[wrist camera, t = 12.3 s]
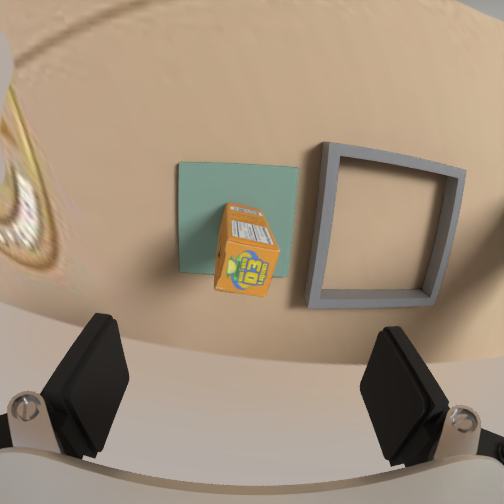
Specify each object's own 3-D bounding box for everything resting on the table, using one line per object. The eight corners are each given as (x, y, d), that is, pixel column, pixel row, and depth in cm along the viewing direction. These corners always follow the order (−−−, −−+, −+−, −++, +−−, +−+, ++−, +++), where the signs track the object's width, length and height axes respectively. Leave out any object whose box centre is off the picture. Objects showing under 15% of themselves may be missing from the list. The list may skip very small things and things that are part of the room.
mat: (297, 167, 25) (298, 168, 24) (286, 274, 29) (287, 276, 28) (180, 161, 24) (179, 162, 24) (180, 270, 28) (179, 272, 27)
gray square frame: (454, 167, 25) (466, 170, 23) (425, 296, 30) (434, 305, 29) (322, 141, 24) (329, 142, 22) (303, 297, 30) (307, 308, 28)
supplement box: (256, 244, 27) (265, 303, 17) (218, 236, 26) (206, 291, 17) (266, 209, 26) (281, 251, 16) (226, 199, 25) (219, 237, 16)
